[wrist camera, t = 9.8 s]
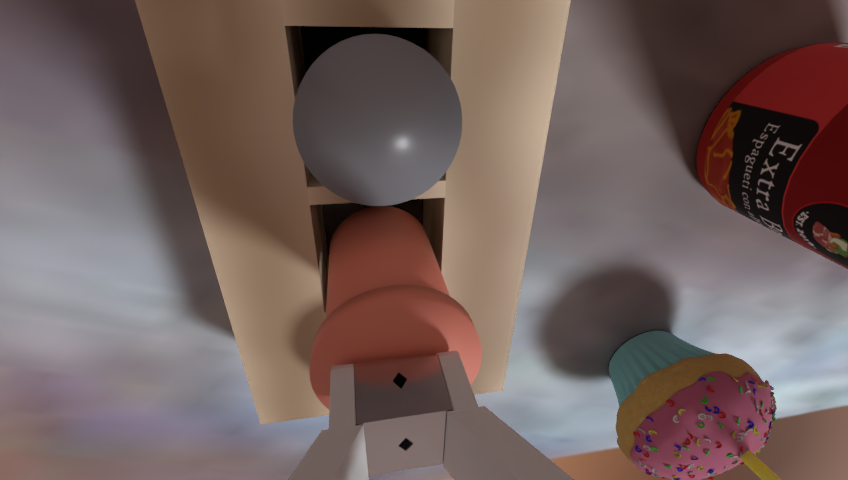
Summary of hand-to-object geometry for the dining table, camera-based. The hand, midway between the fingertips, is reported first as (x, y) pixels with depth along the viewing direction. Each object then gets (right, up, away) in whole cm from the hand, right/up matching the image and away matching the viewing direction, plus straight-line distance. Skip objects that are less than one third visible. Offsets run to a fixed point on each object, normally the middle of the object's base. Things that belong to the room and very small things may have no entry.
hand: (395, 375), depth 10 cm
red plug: (-1, +3, +5) cm, 6 cm away
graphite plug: (-1, +9, +5) cm, 10 cm away
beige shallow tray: (-2, +5, +8) cm, 9 cm away
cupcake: (+15, -4, +17) cm, 23 cm away
